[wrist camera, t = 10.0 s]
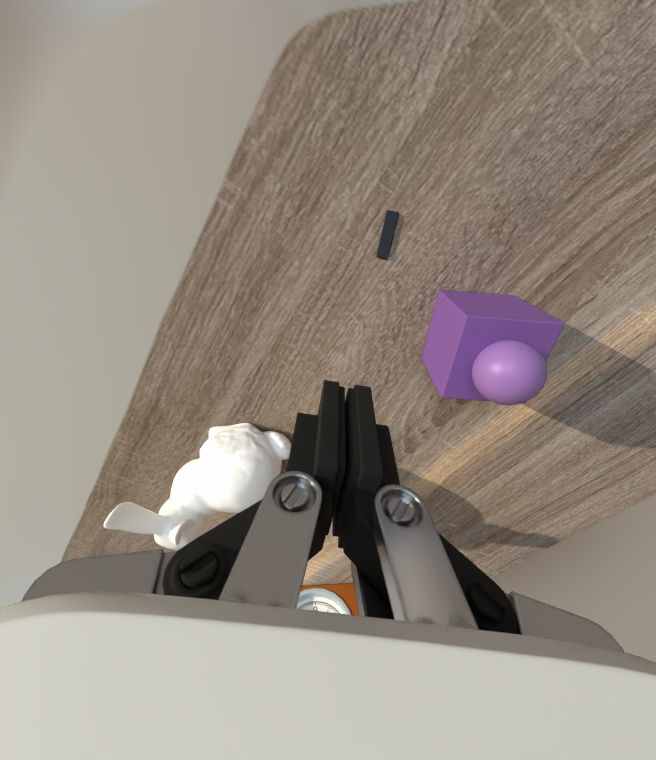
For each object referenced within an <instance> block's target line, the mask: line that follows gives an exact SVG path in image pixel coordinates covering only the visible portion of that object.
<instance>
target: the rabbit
mask: <svg viewBox="0 0 656 760" xmlns="http://www.w3.org/2000/svg"><path fill="white" fill-rule="evenodd" d="M290 450H291V443H290V441H289V440H288V438H287V437H285V436H284V435H283V434H281V433H278V432H273V431H267V432H261V431H260V430H259V429H257V428H256V427H255V426H254V425H252V424H250V423H241V424H236V425H231V426H221V427H218V426H217V427H212V428H211V429H210V430H209V439H208V440H207V441H206V442H205V443H204V445H203V446H202V447H201V449H200V458H199V459H195V460H192V461H190V462H188V463H187V464H185V465H184V466H183V467H182V468H181V469H180V470H179V471H178V473H177V474H176V476H175V478H174V481H173V485H172V489H171V495H170V496H171V497H170V499H168V500H167V501H166V503H165V504H164V505H163V506H162V507H161V509H160V511H159V514H156V513H154V512H152V511H150V510H148V509H145V508H143V507H141V506H139V505H137V504H134V503H131V502H123V503H121V504H119V505H118V506H117V507H116V508H115V509H114V510H113V511H112V512H111V513H110V515H109V516H108V517H107V519H106V520H105V522H104V527H105V528H106V529H118V530H124V531H128V532H133V533H141V534H154V537H155V541H156V542H157V543H158V544H159V545H161V546H164V547H166V548H170V549H181V548H182V547H184V546H185V545H186V544H188V543H190V542H191V541H193V540H195V539H196V538H197V537H198V536H199V535H200V534H201V533H202V531H203V529H204V523H205V519H206V516H207V515H208V514H214V513H217V512H219V511H223V512H228V513H240V512H241V511H243V510H245V509H247V508H248V507H250V506H252V505H253V504H255V503H257V502H258V501H260V500H262V499H263V497H264V495H265V492H266V490H267V488H268V486H269V484H270V483H271V481H272V480H273V479H274V478H275V477H276V476H278V475H279V474H280V472H281V466H282V460H286V459H289V455H290Z"/></svg>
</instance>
